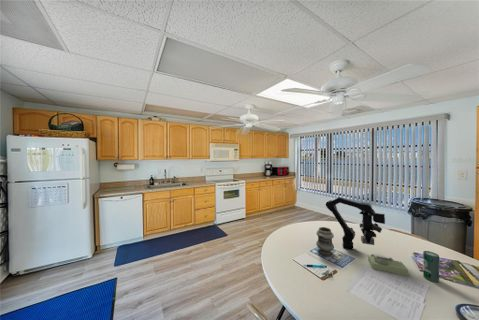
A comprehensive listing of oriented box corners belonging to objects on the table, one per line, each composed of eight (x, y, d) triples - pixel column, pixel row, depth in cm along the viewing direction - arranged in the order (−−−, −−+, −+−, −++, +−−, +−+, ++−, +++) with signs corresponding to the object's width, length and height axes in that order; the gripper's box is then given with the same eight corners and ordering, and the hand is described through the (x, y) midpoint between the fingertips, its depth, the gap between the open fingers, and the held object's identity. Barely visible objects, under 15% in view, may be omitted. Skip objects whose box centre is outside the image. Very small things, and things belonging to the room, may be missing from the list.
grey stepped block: (362, 243, 127) (362, 237, 127) (361, 240, 132) (360, 234, 132) (374, 245, 124) (374, 239, 124) (372, 242, 129) (372, 236, 129)
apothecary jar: (315, 254, 127) (315, 230, 127) (316, 246, 138) (316, 224, 138) (334, 258, 121) (334, 233, 121) (333, 250, 132) (333, 227, 132)
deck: (372, 268, 111) (372, 261, 110) (365, 256, 124) (365, 250, 124) (408, 275, 103) (408, 268, 103) (397, 262, 117) (397, 256, 117)
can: (422, 273, 105) (422, 249, 105) (437, 278, 101) (437, 253, 101) (424, 279, 100) (424, 254, 100) (440, 284, 96) (440, 257, 96)
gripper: (385, 226, 116) (385, 249, 116) (376, 218, 133) (376, 237, 133) (365, 224, 120) (365, 246, 121) (359, 216, 138) (359, 235, 138)
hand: (367, 241), depth 128 cm, fingers closed on grey stepped block, 5 cm apart
